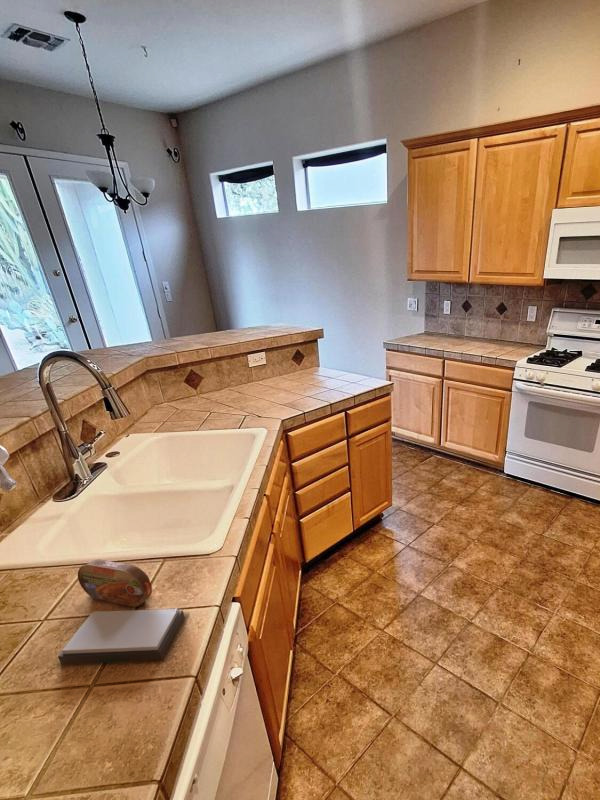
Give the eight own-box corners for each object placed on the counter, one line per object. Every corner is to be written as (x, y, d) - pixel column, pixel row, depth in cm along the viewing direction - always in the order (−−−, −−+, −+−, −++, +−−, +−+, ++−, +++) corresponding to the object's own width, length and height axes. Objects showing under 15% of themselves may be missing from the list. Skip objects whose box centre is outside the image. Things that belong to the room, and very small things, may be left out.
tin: (83, 597, 85) (69, 563, 82) (97, 587, 88) (84, 554, 84) (147, 611, 82) (136, 576, 78) (159, 600, 85) (149, 566, 81)
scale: (62, 666, 70) (56, 653, 69) (96, 622, 79) (91, 609, 78) (162, 661, 72) (158, 648, 70) (185, 618, 81) (182, 606, 79)
